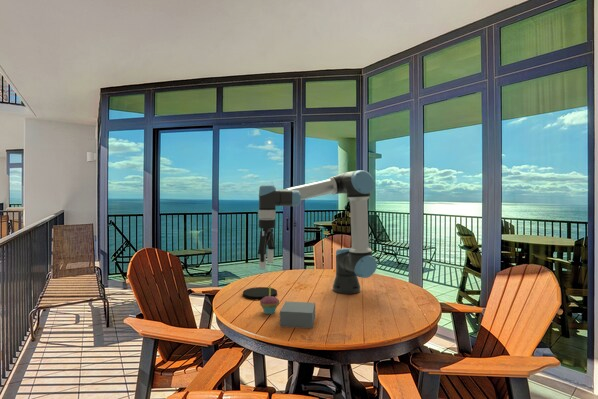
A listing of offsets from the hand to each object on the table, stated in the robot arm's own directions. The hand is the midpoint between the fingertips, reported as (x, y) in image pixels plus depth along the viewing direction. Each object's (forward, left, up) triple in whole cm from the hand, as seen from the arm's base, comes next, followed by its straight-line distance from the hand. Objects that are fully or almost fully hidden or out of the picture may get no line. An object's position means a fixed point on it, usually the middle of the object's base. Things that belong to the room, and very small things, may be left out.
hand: (266, 266), depth 155 cm
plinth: (-16, +12, -20) cm, 28 cm away
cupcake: (-2, +3, -20) cm, 21 cm away
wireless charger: (+9, -23, -21) cm, 32 cm away
